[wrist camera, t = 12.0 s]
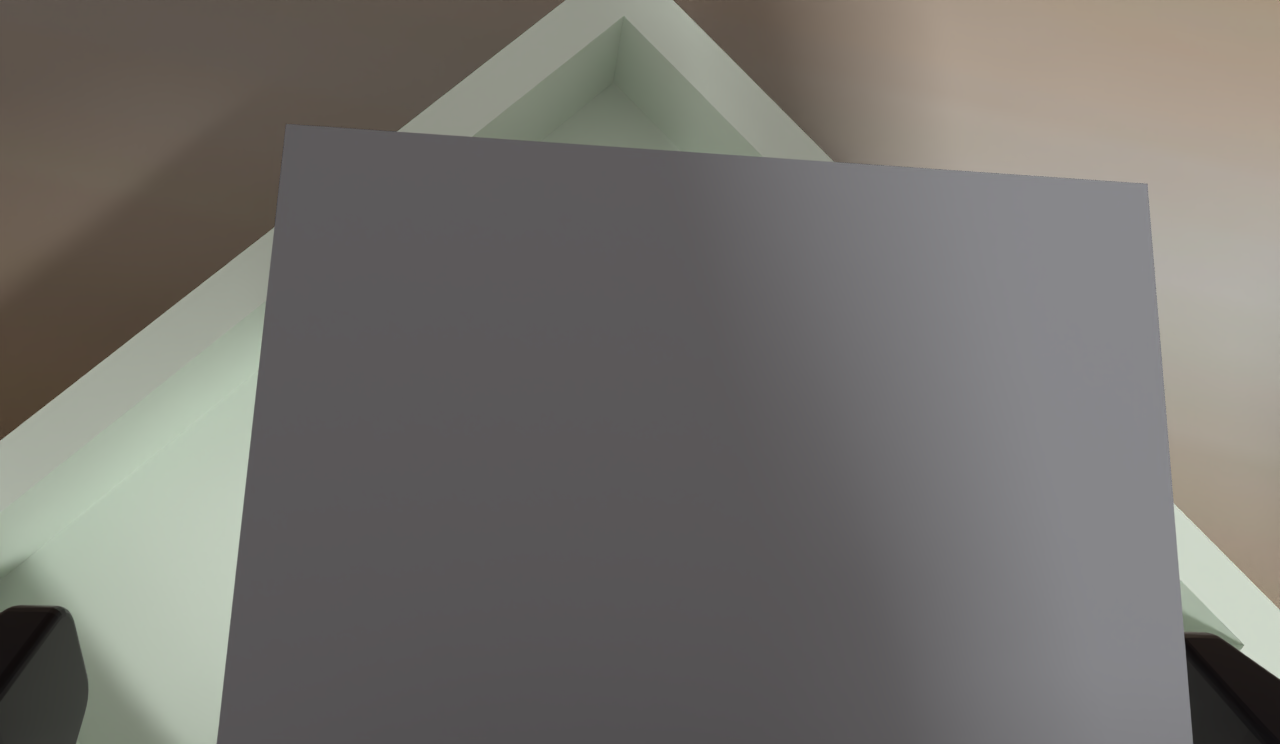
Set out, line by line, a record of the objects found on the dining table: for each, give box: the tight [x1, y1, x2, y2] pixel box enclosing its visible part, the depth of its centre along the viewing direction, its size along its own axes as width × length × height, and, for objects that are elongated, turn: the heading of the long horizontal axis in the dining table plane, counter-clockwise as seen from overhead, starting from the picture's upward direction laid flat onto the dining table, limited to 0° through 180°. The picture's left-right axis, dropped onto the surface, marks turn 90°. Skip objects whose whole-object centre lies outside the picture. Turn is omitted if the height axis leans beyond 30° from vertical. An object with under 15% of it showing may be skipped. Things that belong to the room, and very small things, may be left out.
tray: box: [0, 0, 1280, 744], centre depth 17 cm, size 15×15×3 cm
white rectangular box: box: [217, 124, 1193, 744], centre depth 12 cm, size 5×5×12 cm
